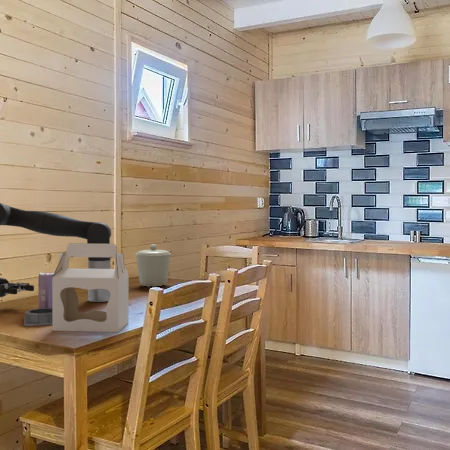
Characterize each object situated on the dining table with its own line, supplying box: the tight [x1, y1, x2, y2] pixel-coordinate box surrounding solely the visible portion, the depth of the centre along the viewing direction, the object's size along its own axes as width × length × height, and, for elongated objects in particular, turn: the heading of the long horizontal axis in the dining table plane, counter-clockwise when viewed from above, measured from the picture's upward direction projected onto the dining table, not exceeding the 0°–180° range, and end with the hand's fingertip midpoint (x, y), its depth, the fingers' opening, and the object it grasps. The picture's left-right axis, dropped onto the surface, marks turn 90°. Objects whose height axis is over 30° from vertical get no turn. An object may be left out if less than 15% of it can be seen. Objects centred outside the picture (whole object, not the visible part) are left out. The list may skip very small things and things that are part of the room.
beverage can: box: [37, 272, 55, 308], centre depth 196 cm, size 6×6×15 cm
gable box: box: [51, 242, 129, 333], centre depth 175 cm, size 22×13×28 cm, turn 87°
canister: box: [134, 243, 172, 288], centre depth 264 cm, size 18×18×21 cm
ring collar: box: [23, 307, 53, 327], centre depth 183 cm, size 12×12×4 cm
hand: (25, 289), depth 201 cm, fingers open, 8 cm apart
